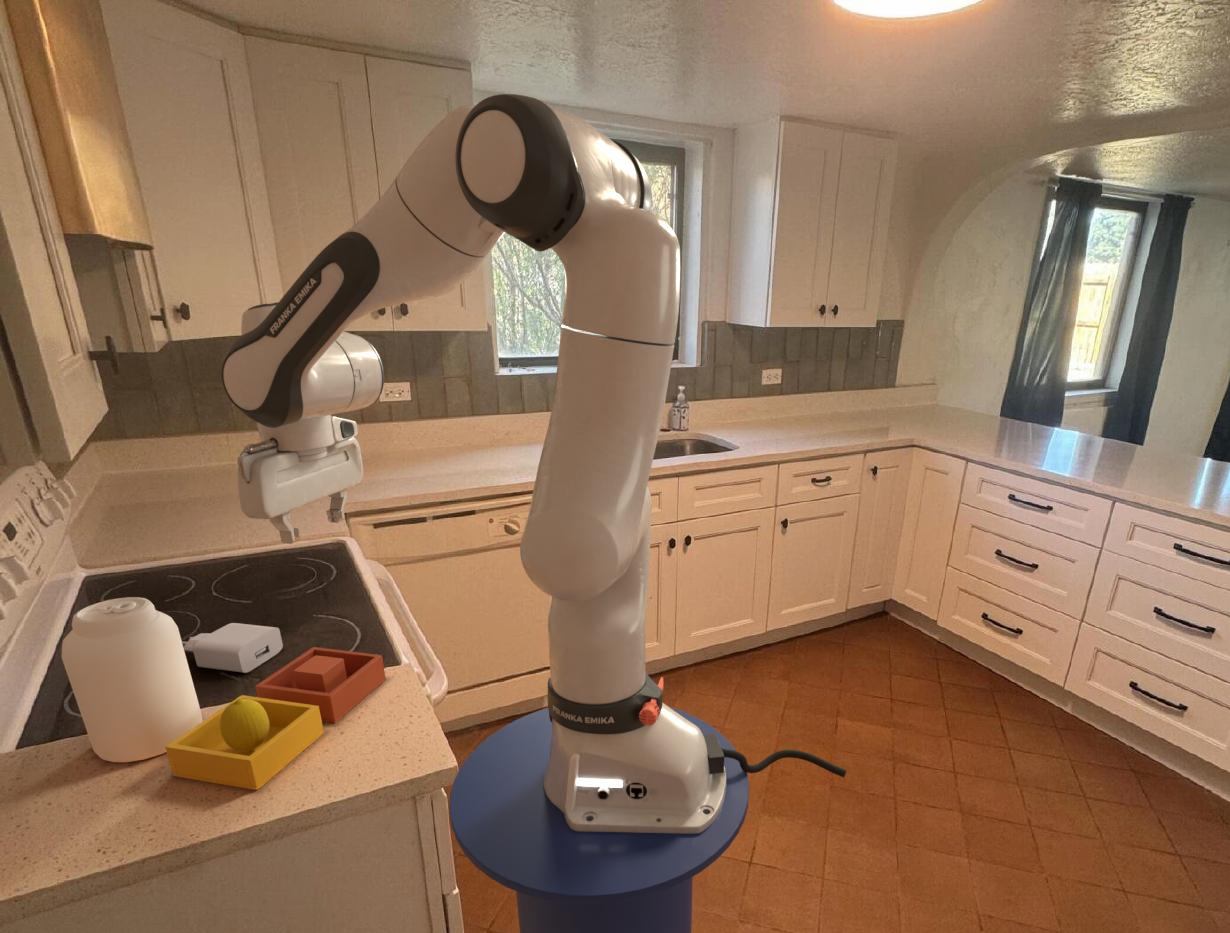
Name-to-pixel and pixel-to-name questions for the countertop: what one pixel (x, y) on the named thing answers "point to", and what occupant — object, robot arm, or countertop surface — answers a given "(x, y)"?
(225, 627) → the charger
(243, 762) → the yellow bin
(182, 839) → the countertop surface
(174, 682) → the can
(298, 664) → the terracotta bin
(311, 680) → the block
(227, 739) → the lemon
